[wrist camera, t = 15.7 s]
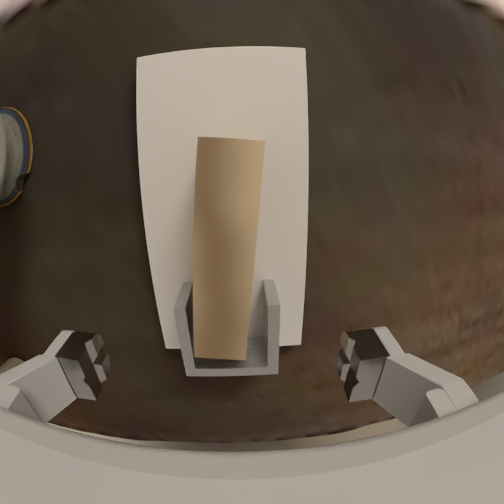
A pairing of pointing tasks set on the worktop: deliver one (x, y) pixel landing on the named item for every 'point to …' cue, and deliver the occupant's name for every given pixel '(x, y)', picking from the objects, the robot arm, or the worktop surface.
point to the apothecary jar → (13, 154)
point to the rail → (225, 243)
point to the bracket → (183, 186)
